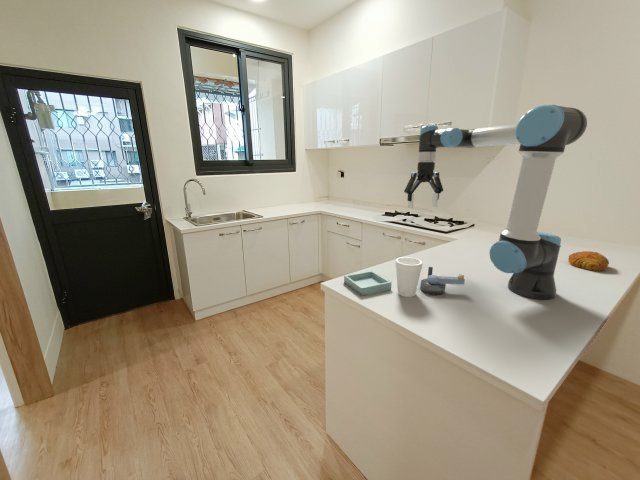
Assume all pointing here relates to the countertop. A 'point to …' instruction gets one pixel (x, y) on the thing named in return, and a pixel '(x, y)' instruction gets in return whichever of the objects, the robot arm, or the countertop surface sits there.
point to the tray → (367, 282)
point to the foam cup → (408, 275)
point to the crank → (446, 279)
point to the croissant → (589, 260)
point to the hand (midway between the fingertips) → (422, 207)
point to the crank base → (432, 286)
